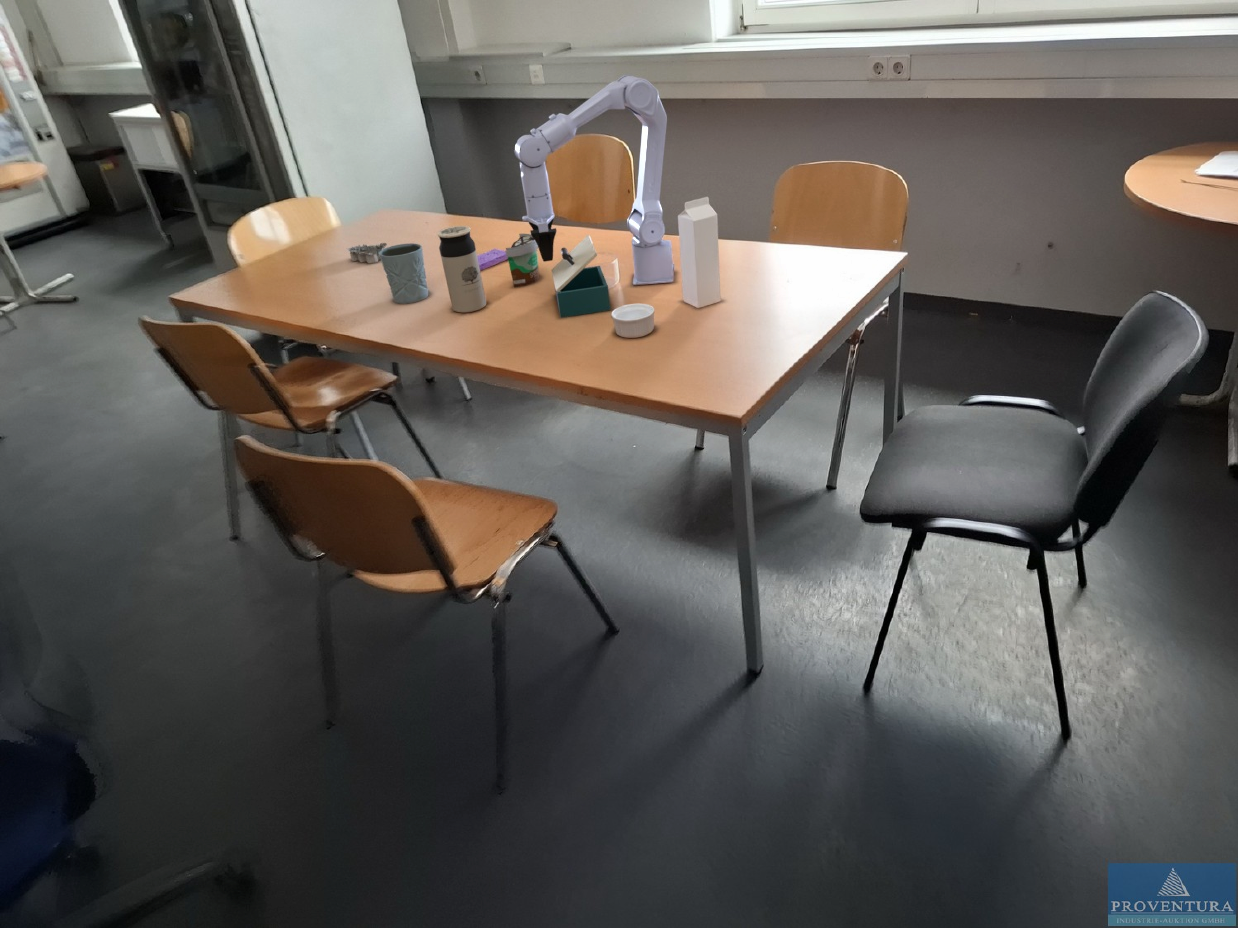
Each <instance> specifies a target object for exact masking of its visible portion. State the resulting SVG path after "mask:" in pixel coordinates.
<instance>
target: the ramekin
mask: <svg viewBox="0 0 1238 928" xmlns="http://www.w3.org/2000/svg"><path fill="white" fill-rule="evenodd" d="M610 315H611V319H612V321H613V325H614V331H615V333H616V335H618V337H622V338H626V339H635V338H636V339H637V338H642V337H645V336H648V335H649V334H651V333H652V332H653V330H654V328H655V307H653V306H652V305H651V304H648V303H629V304H624V305H621V306H618V307H616V308H615V309H613V310H612V311H611V313H610Z"/></svg>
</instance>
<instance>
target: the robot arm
mask: <svg viewBox="0 0 1238 928" xmlns="http://www.w3.org/2000/svg"><path fill="white" fill-rule="evenodd" d="M659 96H660V95H659V90H658V89H657V88H656V87H655V85H653V84H652V83H651V82H650V81H649V80H648V79H645V78H642V77H637V76H635V75H632V74H625V75H622V76H620V77H619V78H618V79H617V80H613V81H611V82H610V83H608V84H607V85H606V86H604V87H603V88H602V89H600V90H599V91H598V92H596V93H595V94H594V95H592V96H591V97H590V98H589V99H587V100H586V101H584V102H583V103H582V104H580V105H579V106H578V107H576V108H575V109H574V110H573V111H571V112H570V113H569V114H564V113H560V112H559V113H558V114H555V113H552V114H551V115H549V116H548V119H549V120H547V121H545V123H543V124H542V125H539V127H537V128H535V127H533V128H532V129H530V131H529V132H530V134H524V135H522V136H521V137H519V138H518V139H517V141H516V143H515V146H514V150H513V151H514V155H515V157H516V158H517V160H519V170H520V178H521V184H522V190H523V197H524V204H525V208H526V209H525V210H526V215H523V216H522V222H528V224H529V225H530V227H531V229H530V230H529V232H530V234H531V235H532V237H533V238H534V240H535V241H536V243H537V245H538V248H537V249H538V250H539V254H540V256H541V260H542V261H543V262H544V263H545V262H551V261H554V243H555V237H556V235H557V228H556V227H555V228H553V222H554V218H555V217H556V216H555V212H554V209H553V201H552V193H551V189H550V181H549V175H548V171H547V165H546V161H547V158H548V156H549V155H552V154H553V153H555V152H556V151H558V150H559V149H561V148H563V146H565V145H566V144H568V143H570V142H571V141H573V140H574V139H575V137H576V133H577V131H578V129H579V128H580V127H582V126H585V124H587V123H588V122H590V121H592V120H593V119H595V118H597V117H599V116H600V115H602V114H603V113H605V112H607V111H609V110H629V111H630V112H632V114H633V115H634V116H635V117H636V118H637V119H638V120H639V122H640V123H641V124H642V126H641V127H642V128H641V138H640V139H641V140H640V150H639V151H640V152H639V163H638V174H637V186H636V187H637V189H636V198H635V200H634V201H633V202H632V208H631V211H630V214H629V216H628V218H627V220H626V223H627V225H626V226H627V229H628V231H629V232H630V234H632V239H631V250H632V259H633V269H634V270H633V271H634V273H633V279H632V285H633V286H642V285H654V284H655V285H656V284H657V285H658V284H668V283H673V282H674V272H676V271H675V264H674V258H673V257H674V256H673V245H672V240H670V239H669V240H668V239H667V240H666V239H663V238H664V237H665V233H666V227H665V224H664V221H663V213H664V212H663V209H662V205H661V201H660V200H661V199H660V197H661V189H662V188H661V187H662V177H663V176H662V175H663V166H664V156H665V155H664V154H665V144H666V134H667V123H668V116H667V113H666V110H665V108H664V106H663V104H662V101H661V98H660V97H659Z"/></svg>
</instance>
